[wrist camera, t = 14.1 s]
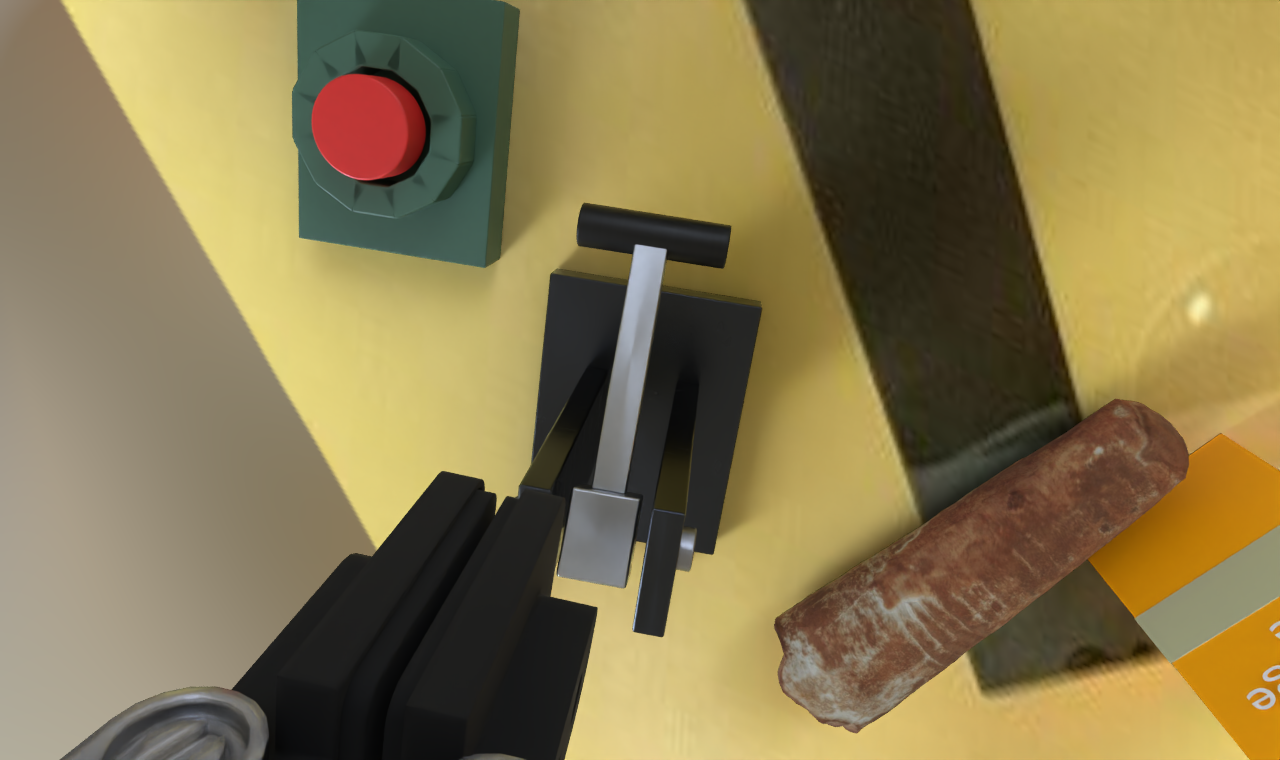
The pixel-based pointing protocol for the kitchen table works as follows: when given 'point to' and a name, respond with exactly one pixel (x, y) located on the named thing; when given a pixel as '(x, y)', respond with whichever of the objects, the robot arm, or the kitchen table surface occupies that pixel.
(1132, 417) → the salami
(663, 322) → the bracket
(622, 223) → the lever
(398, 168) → the button
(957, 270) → the kitchen table surface
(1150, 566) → the orange juice
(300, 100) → the button box
